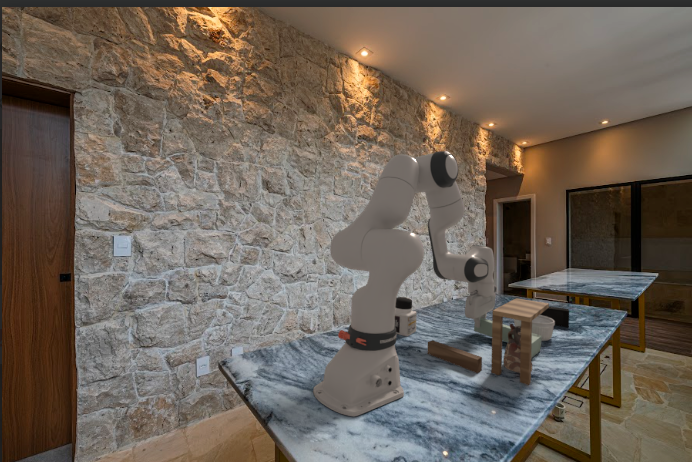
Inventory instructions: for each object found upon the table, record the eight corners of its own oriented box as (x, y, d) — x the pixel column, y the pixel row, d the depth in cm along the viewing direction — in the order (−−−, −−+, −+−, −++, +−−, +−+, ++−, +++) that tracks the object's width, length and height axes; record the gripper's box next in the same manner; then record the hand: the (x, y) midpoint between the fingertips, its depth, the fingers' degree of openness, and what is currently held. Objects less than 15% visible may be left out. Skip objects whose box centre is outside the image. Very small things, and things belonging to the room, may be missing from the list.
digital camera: (567, 324, 127) (568, 308, 127) (569, 327, 123) (569, 310, 123) (538, 320, 133) (539, 304, 133) (539, 323, 128) (539, 307, 128)
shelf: (528, 385, 75) (530, 317, 75) (491, 372, 82) (492, 310, 82) (547, 359, 91) (548, 303, 91) (515, 350, 97) (516, 298, 97)
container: (407, 336, 108) (408, 301, 108) (388, 332, 113) (389, 298, 113) (416, 331, 115) (417, 297, 115) (398, 327, 119) (399, 294, 119)
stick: (477, 374, 81) (477, 359, 81) (427, 354, 94) (427, 342, 94) (481, 371, 83) (481, 357, 83) (432, 352, 95) (432, 340, 95)
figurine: (517, 374, 81) (518, 330, 81) (497, 363, 88) (498, 322, 88) (538, 372, 83) (539, 329, 83) (517, 361, 90) (518, 321, 90)
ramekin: (563, 343, 105) (563, 323, 105) (525, 342, 106) (526, 322, 106) (539, 330, 119) (540, 313, 119) (506, 329, 119) (506, 312, 119)
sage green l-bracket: (527, 361, 89) (529, 345, 89) (460, 337, 105) (461, 323, 104) (540, 350, 98) (541, 335, 98) (476, 329, 113) (478, 316, 113)
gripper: (478, 294, 102) (478, 334, 102) (498, 286, 116) (497, 322, 116) (460, 291, 106) (459, 330, 106) (481, 284, 121) (481, 318, 121)
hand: (479, 325), depth 111 cm, fingers closed on sage green l-bracket, 3 cm apart
